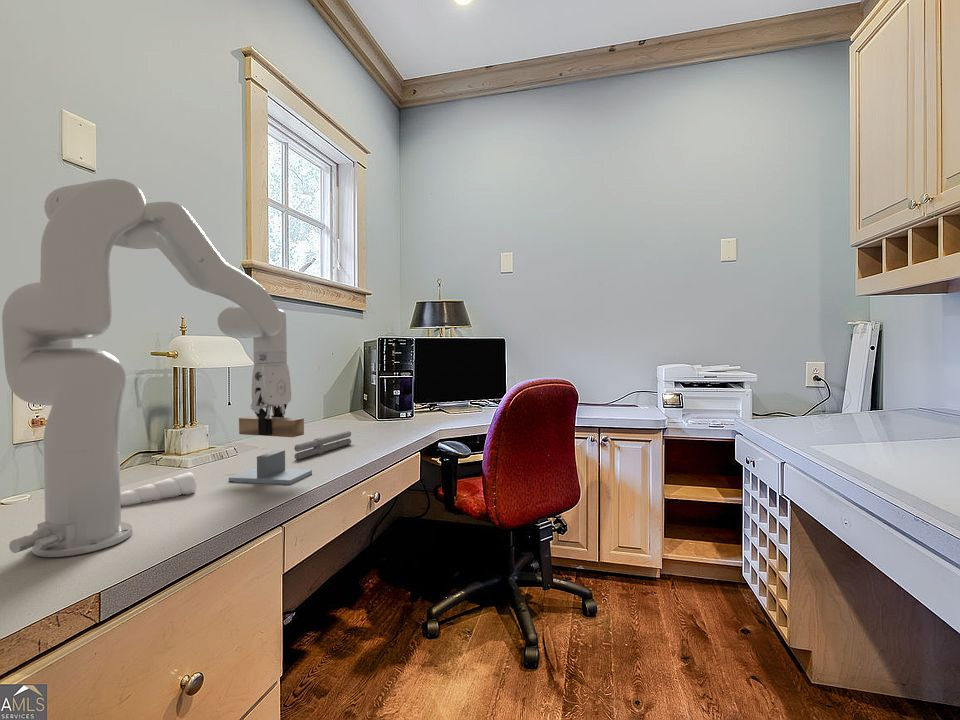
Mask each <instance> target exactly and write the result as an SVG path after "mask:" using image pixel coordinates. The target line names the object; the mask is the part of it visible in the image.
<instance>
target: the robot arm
mask: <svg viewBox="0 0 960 720" xmlns="http://www.w3.org/2000/svg"><path fill="white" fill-rule="evenodd" d="M43 206H44V207H43V208H44V212H45V215H46V217H47V218H48V221H47V223H46V225H45V228H44V231H43V234H42V237H41V242H40V279H39V282H33V283H28V284H24V285H22V286H20V287H18V288H17V289H15V290H14V291H12V292H11V293H10V295H9V296H8V298H7V299H6V301H5V303H4V305H3V309H2V312H1V313H2V314H1V324H2V326H1V327H2V338H3V339H2V340H3V341H2V343H3V355H4V357H3V358H4V369H5V375H6V380H7V383H8V386H9V388H10V390H11V392H13V394H14V395H15V396H16V397H18V398H19V399H20V400H21V401H24V402H26V403H29V404H32V405H39V406H48V407H49V406H51V409H50V411H49V414H48V417H47V420H46V421H45V426H44V431H43V469H44V471H43V478H44V481H43V483H44V489H43V490H44V521H43V522H39V523H37V529H35V530H34V531H33V532H32V533H31V534H30V535H24V536H21V537H18V538H15V539H13V540H11V541H10V542H9V545H8V546H9V550H10V552H11V553H12V554H13V553H14V554H17V553H20V552H22V551H25V550H26V551H27V550H28V549H30V548H31V553H32V554H33V555H34V556H37V557H40V558H41V557H42V558H61V557H72V556H77V555H82V554H83V555H84V554H87V553H92V552H96V551H99V550H104V549H106V548H110V547H112V546H114V545H117V544H119V543H122V542H123V541H125V540H127V539H128V538H130V537H131V536H132V534H133V525H131V524H130V523H128V522H125V521H122V516H121V514H122V513H121V512H122V511H121V509H122V508H121V499H120V493H121V456H120V455H121V454H120V453H121V448H120V447H121V445H120V444H121V443H120V439H121V438H120V422H121V421H120V419H121V411H122V410H121V409H122V404H123V399H124V396H125V395H124V394H125V389H126V382H127V379H126V372H125V368H124V367H123V364H122V363H121V362H120V360H119V359H118V358H117V357H116V356H114V355H112V354H111V353H109V352H107V351H105V350H103V349H102V350H101V349H98V348H92V347H73V345H74V344H73V340H83V339H84V340H85V339H92V338H93V339H94V338H97V337H99V336H101V335H103V334H104V333H106V332H107V331H108V329H109V327H110V326H111V323H112V314H113V313H112V312H113V311H112V294H111V293H112V291H111V278H110V277H111V275H110V267H111V266H110V263H111V261H110V257H111V253H112V250H113V247H114V246H116V247H121V248H126V249H127V248H128V249H133V250H134V249H135V250H152V249H158V250H159V251H160V252H161V253H162V254H163V256H164V257H166V259H167V260H168V261H169V263H171V265H172V267H174V269H176V271H177V272H178V273H179V274H180V275H181V276H182V278H183V279H184V280H185V282H186V283H187V284H188V285H190V286H192V287H194V288H196V289H198V290H201V291H203V292H206V293H210V294H213V295H216V296H219V297H221V298H224V299H227V300H229V301H231V302H233V303H234V304H236V305H234V306H233V305H232V306H228V307H226V308H225V309H223V310H221V312H220V313H219V314H218V316H217V326H218V328H219V330H220V331H221V333H222V334H224V335H226V337H229V338H234V339H252V341H253V343H252V345H253V349H252V350H253V369H252V377H251V402H252V403H251V405H250V409H251V410H252V411H253V412H254V413H255V416H257V419H258V434H259V435H258V436H261V435H271V434H272V419H269V418H270V417H285V415H286V409H287V407H288V405H289V403H290V402H291V401H292V387H291V376H290V370H289V365H288V359H287V358H288V353H287V350H288V347H287V346H288V345H287V343H288V341H287V340H288V339H287V314H286V312H285V311H284V310H282V309H279V307H278V305H277V304H276V302H275V301H274V299H273V298H272V296H271V295H270V294H269V292H268V291H267V290H266V289H265V288H264V287H263V286H262V285H261V284H260V283H259V282H258V281H256V280H255V279H253V278H252V277H250V276H249V275H247V274H245V273H244V272H243V271H241V270H240V269H238V268H236V267H234V266H233V265H231V264H229V263H228V262H226V260H225V259H224V258H223V257H222V255H221V254H220V252H219V251H218V250H217V249H216V248H215V246H214V244H212V242H211V241H210V239H209V238H208V237H207V235H206V234H205V232H204V231H203V230H202V228H201V227H200V225H199V224H198V223H197V222H196V220H195V219H194V218H193V216H192V215H191V214H190V213H189V211H188V210H187V209H186V208H185V207H184V206H183V205H181V204H179V203H177V202H174V201H155V202H154V201H153V202H147V201H146V198H145V195H144V194H143V192H142V190H141V189H140V187H138V186H136V185H135V184H134V183H132V182H131V181H127V180H123V179H118V178H108V179H107V178H105V179H100V180H93V181H88V182H84V183H83V182H82V183H77V184H71V185H65V186H61V187H60V186H59V187H58V188H56V189H53V190H52V191H51V192H50V193H49V194H48V195H47V196H46V198H45V201H44V205H43ZM271 411H272V414H271Z"/></svg>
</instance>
